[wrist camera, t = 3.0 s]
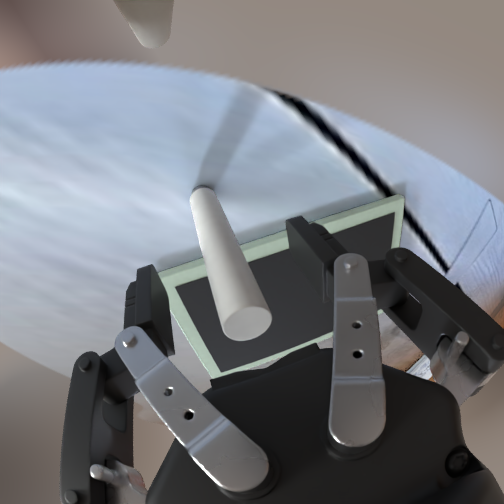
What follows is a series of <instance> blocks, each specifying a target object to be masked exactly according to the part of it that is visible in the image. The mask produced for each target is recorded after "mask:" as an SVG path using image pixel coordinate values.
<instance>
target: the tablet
mask: <svg viewBox="0 0 504 504" xmlns="http://www.w3.org/2000/svg"><path fill="white" fill-rule="evenodd" d="M404 201H405V198H404V197H403V196H401V195H400V194H397V195H394V196H391V197H388V198H385V199H381V200H378V201H375V202H372V203H369V204H366V205H362V206H359V207H356V208H353V209H350V210H347V211H344V212H341V213H337V214H334V215H331V216H328V217H325V218H322V219H319V220H316V221H313V222H315V223H318V224H320V225H322V226H324V227H325V228H326V229H327V230H328V231H329V233H331V234H332V235H333V237H334V238H335V239H336V240H337V241H338V242H339V243H340V244H341V245H342V246H343V247H344V248H345V249H346V250H347V251H348V252H349V253H354V254H358V255H361V256H363V257H364V258H365V259H366V260H367V261H375V260H383V259H385V255H386V253H387V251H388V250H390V249H392V248H397V247H399V245H400V237H401V229H402V221H403V211H404ZM313 222H309V224H310V223H313ZM239 246H240V248H241V250H242V252H243V254H244V256H245V258H246V261H247V263H248V265H249V267H250V269H251V271H252V273H253V275H254V278H255V280H256V282H257V284H258V286H259V288H260V290H261V293H262V295H263V297H264V299H265V301H266V303H267V305H268V307H269V309H270V312H271V314H272V321H271V324H270V326H269V328H268V329H267V330H266V331H265V332H264V333H262V334H261V335H259V336H258V337H256V338H253V339H250V340H245V341H237V340H233V339H230V338H228V337H227V336H226V335H225V334H224V332H223V329H222V326H221V322H220V319H219V315H218V312H217V308H216V305H215V301H214V297H213V294H212V290H211V286H210V282H209V279H208V275H207V271H206V267H205V263H204V259H203V258H200V259H197V260H194V261H191V262H188V263H185V264H182V265H179V266H176V267H173V268H170V269H167V270H164V271H161V272H159V273H158V275H159V277H160V279H161V281H162V283H163V285H164V287H165V289H166V291H167V294H168V298H169V305H170V310H171V312H172V314H173V316H174V317H175V319H176V321H177V323H178V324H179V326H180V328H181V329H182V331H183V333H184V334H185V336H186V338H187V339H188V341H189V343H190V344H191V346H192V348H193V349H194V351H195V352H196V354H197V356H198V357H199V359H200V360H201V362H202V363H203V365H204V367H205V368H206V370H207V371H208V373H209V374H210V376H211V377H212V379H214V378H217V377H221V376H224V375H227V374H230V373H233V372H237V371H243V370H246V369H249V368H252V367H255V366H258V365H261V364H263V363H266V362H269V361H272V360H275V359H277V358H280V357H283V356H285V355H287V354H289V353H290V352H293V351H295V350H298V349H300V348H303V347H305V346H308V345H310V344H313V343H315V342H316V343H318V342H320V341H323V340H325V339H327V338H330V337H332V336H333V326H334V304H333V302H332V301H329V302H326V303H323V302H322V300H321V299H320V297H319V296H318V294H317V293H316V291H315V290H314V288H313V287H312V285H311V284H310V282H309V281H308V279H307V278H306V277H305V275H304V274H303V272H302V271H301V269H300V268H299V266H298V265H297V263H296V262H295V261H294V259H293V257H292V255H291V253H290V249H289V244H288V237H287V230H285V231H282V232H279V233H276V234H273V235H269V236H266V237H263V238H260V239H257V240H254V241H251V242H248V243H245V244H242V245H239ZM377 312H378V315H379V314H381V313H383V312H384V311H383V310H382V309H377Z"/></svg>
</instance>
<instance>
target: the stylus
mask: <svg viewBox="0 0 504 504" xmlns="http://www.w3.org/2000/svg"><path fill="white" fill-rule="evenodd" d="M190 205H191V210H192V214H193V218H194V223H195V227H196V231H197V235H198V239H199V243H200V247H201V251H202V255H203V259H204V263H205V267H206V271H207V275H208V279H209V282H210V286H211V290H212V294H213V297H214V301H215V305H216V308H217V312H218V315H219V319H220V322H221V326H222V329H223V332H224V334H225V335H226V336H227V337H228V338H230V339H233V340H237V341H245V340H250V339H253V338H256V337H258V336H259V335H261V334H262V333H264V332H265V331H266V330H267V329H268V328H269V326H270V324H271V321H272V314H271V312H270V309H269V307H268V305H267V303H266V301H265V299H264V297H263V295H262V293H261V290H260V288H259V286H258V284H257V282H256V280H255V278H254V275H253V273H252V271H251V269H250V267H249V265H248V263H247V261H246V258H245V256H244V254H243V252H242V250H241V248H240V246H239V243H238V241H237V239H236V237H235V235H234V233H233V230H232V228H231V226H230V224H229V222H228V220H227V218H226V215H225V213H224V211H223V209H222V207H221V205H220V202H219V200H218V198H217V196H216V194H215V192H214V191H213V190H211V189H209V188H208V187H207V186H203V185H201V186H198V187H196V188H195V189H194V190H193V191H192V195H191V197H190Z"/></svg>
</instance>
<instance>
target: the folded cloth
mask: <svg viewBox="0 0 504 504" xmlns="http://www.w3.org/2000/svg"><path fill="white" fill-rule="evenodd" d="M406 373H409V374H412V375H415V376H418V377H421V378H424V379H426V380H428V379H429V378H430V377H431V376H432V373H431V371H430V360H429V359H428V357H427V356H426V355H425V354H424V355H423V356H422V357H421V358H420V359H419V360H418V361H417V362H416V363H415V364H414V365H413V366H412V367H411V368H410V369H409V370H408V371H407V372H406Z"/></svg>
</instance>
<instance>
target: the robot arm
mask: <svg viewBox="0 0 504 504" xmlns="http://www.w3.org/2000/svg"><path fill="white" fill-rule="evenodd" d="M286 230H287V237H288V244H289V249H290V253H291V255H292V257H293V259H294V261H295V262H296V263H297V265H298V266H299V268H300V269H301V271H302V272H303V274H304V275H305V277H306V278H307V279H308V281H309V282H310V284H311V285H312V287H313V288H314V290H315V291H316V293H317V294H318V296H319V297H320V299H321V300H322V302H323V303H326V302H329V301H332V302H333V304H334V326H333V348H324V349H319V347H318V345H317V343H316V342H315V343H313V344H310V345H308V346H305V347H303V348H300V349H298V350H295V351H293V352H290V353H289V354H287V355H286V356H284V357H283V358H281V359H280V360H278V361H277V362H275V363H273V364H272V365H270V366H269V367H267V368H264V369H256V370H247V371H237V372H233V373H230V374H227V375H224V376H221V377H217V378H214V379H211V380H210V382H211V386H212V388H210V389H208V390H207V391H205V392H204V393H203V394H201V393H200V392H199V391H198V390H197V389H196V388H195V387H194V386H193V385H192V384H191V383H190V382H189V381H188V380H187V379H186V378H185V377H184V376H183V374H182V373H181V372H180V371H179V370H178V369H177V368H176V367H175V366H174V365H173V364H172V362H171V361H170V360H169V359H168V356H171V355H175V349H174V342H173V333H172V325H171V315H170V305H169V298H168V294H167V291H166V289H165V287H164V285H163V283H162V281H161V279H160V277H159V275H158V273H157V271H156V269H155V267H154V266H153V265H152V264H151V265H148V266H145V267H142V268H139V269H137V278H136V281H134V282H131V283H130V285H129V287H128V289H127V291H126V301H125V307H126V308H125V314H124V330H123V331H122V332H120V334H119V335H118V336H117V338H116V340H115V347H114V348H113V349H112V350H110V351H108V352H107V353H105V354H103V355H102V356H99V355H98V354H97V353H95V352H92V351H90V352H86V353H84V354H82V355H81V356H80V357H79V358H78V359H77V360H76V362H75V364H74V368H73V373H72V378H71V383H70V388H69V394H68V400H67V407H66V413H65V421H64V429H63V438H62V449H61V464H60V500H61V503H62V504H504V494H503V492H502V490H501V489H500V487H499V485H498V483H497V481H496V479H495V477H494V476H493V474H492V473H491V472H490V470H489V469H488V468H486V466H485V465H483V464H482V463H481V462H480V461H479V460H478V459H477V458H476V457H475V456H474V455H473V454H472V453H471V452H470V451H469V449H468V448H467V446H466V444H465V440H464V437H463V433H462V428H461V415H460V409H459V407H460V406H461V405H462V404H463V403H464V402H465V400H467V399H468V398H469V397H470V396H473V395H475V394H477V392H479V390H481V388H482V387H483V386H484V385H485V384H486V383H487V382H488V381H489V380H490V379H491V377H492V376H493V375H494V374H495V373H496V372H497V371H498V369H499V368H500V367H501V366H502V364H503V363H504V329H503V328H502V327H501V326H500V325H499V324H498V323H497V322H495V321H494V320H493V319H492V318H491V317H490V316H489V315H488V314H487V313H486V312H485V311H484V310H482V309H481V308H480V307H479V306H478V305H477V304H476V303H475V302H473V301H472V300H471V299H470V298H469V297H468V296H467V295H465V294H464V293H463V292H462V291H461V290H459V289H458V288H457V287H456V286H455V285H454V284H452V283H451V282H450V281H449V280H447V279H446V278H445V277H444V276H443V275H441V274H440V273H439V272H438V271H436V270H435V269H434V268H432V267H431V266H430V265H429V264H427V263H426V262H425V261H424V260H422V259H421V258H420V257H418V256H417V255H416V254H414V253H413V252H412V251H410V250H408V249H406V248H400V247H397V248H392V249H390V250H388V251H387V253H386V255H385V259H383V260H375V261H367V260H366V259H365V258H364V257H363V256H361V255H358V254H354V253H349V252H348V251H347V250H346V249H345V248H344V247H343V246H342V245H341V244H340V243H339V242H338V241H337V240H336V239H335V238H334V237H333V235H332V234H331V233H329V231H328V230H327V229H326V228H325V227H324V226H322V225H320V224H318V223H315V222H313V223H310V224H309V223H308V222H307V221H306V220H305V219H304V218H303V217H302V216H297V217H294V218H291V219H288V220H286ZM409 293H410V294H411V295H413V296H414V297H415V298H416V299H417V300H418V301H419V302H420V303H419V302H418V301H417V300H415V299H414V298H413V297H412V296H411V295H410V294H409ZM377 309H382V310H383V311H384V312H385V313H386V315H387V316H388V317H389V318H390V319H391V320H392V321H393V322H394V323H395V324H396V325H397V326H398V327H399V328H400V329H401V330H402V331H403V332H404V333H405V334H406V335H407V336H408V337H409V338H410V339H411V340H412V341H413V343H414V344H415V345H416V346H417V347H418V348H419V349H420V350H421V351H422V352H423V353H424V354H425V355H426V356H427V357H428V359H429V360H430V371H431V373H432V375H433V379H434V380H435V381H436V383H435V382H432V381H429V380H426V379H424V378H421V377H418V376H415V375H412V374H409V373H406V372H404V371H401V370H398V369H395V368H393V367H390V366H387V365H384V364H382V356H381V343H380V331H379V321H378V312H377ZM140 391H141V393H142V394H143V395H144V397H145V398H146V400H147V401H148V402H149V404H150V405H151V406H152V408H153V409H154V410H155V412H156V413H157V414H158V416H159V417H160V418H161V419H162V421H163V422H164V423H165V424H166V426H167V427H168V428H169V429H170V431H171V432H172V433H173V434H174V435H175V439H174V441H173V443H172V445H171V447H170V449H169V451H168V453H167V455H166V457H165V459H164V461H163V463H162V465H161V467H160V469H159V471H158V473H157V475H156V477H155V478H154V480H153V482H152V484H151V486H150V488H149V490H148V491H147V489H146V488H145V484H144V481H143V478H142V476H141V474H140V473H139V472H138V471H137V470H136V469H134V466H133V404H134V395H135V394H137V393H138V392H140Z"/></svg>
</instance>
